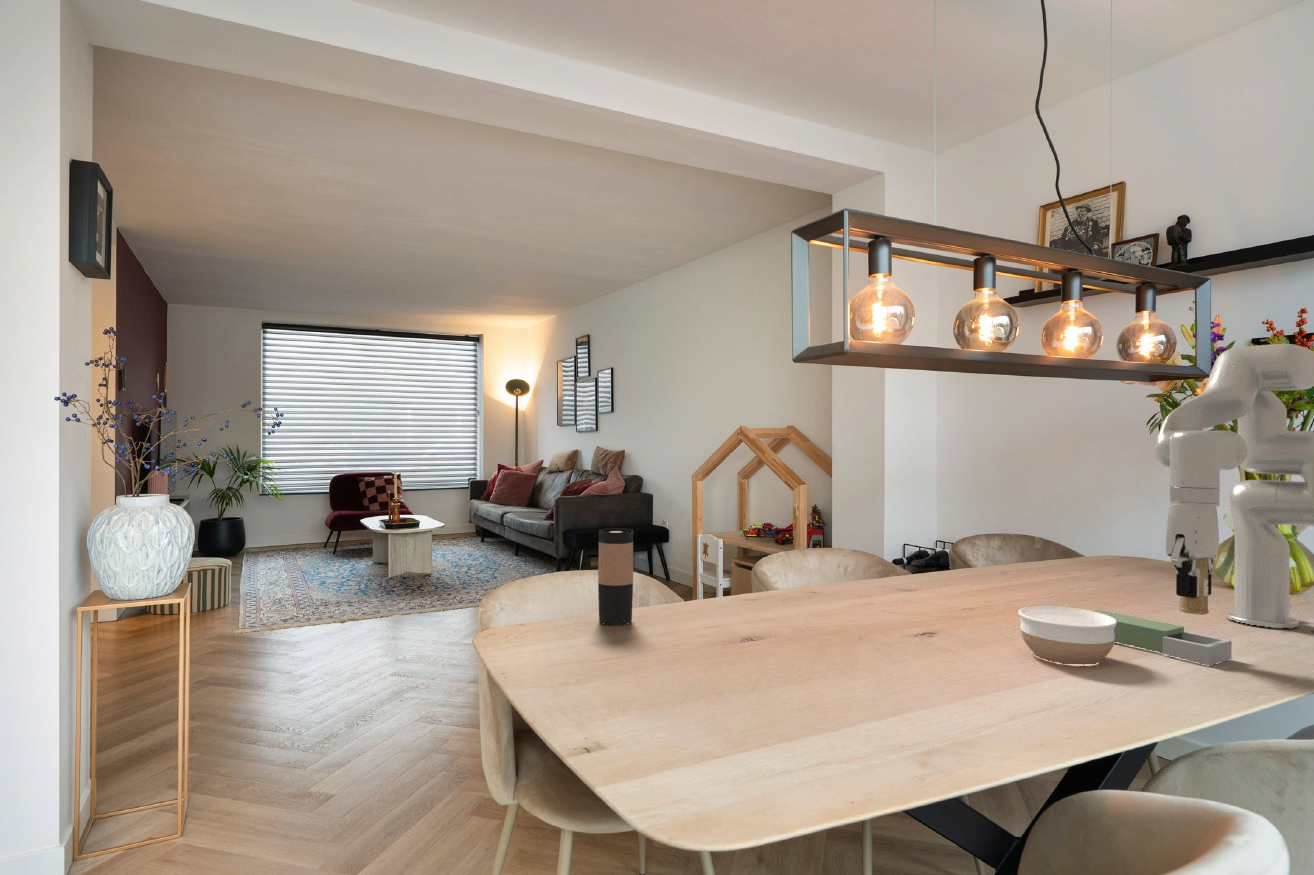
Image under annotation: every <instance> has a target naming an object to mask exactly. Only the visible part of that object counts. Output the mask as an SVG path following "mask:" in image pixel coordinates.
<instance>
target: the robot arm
mask: <svg viewBox="0 0 1314 875" xmlns="http://www.w3.org/2000/svg"><path fill="white" fill-rule="evenodd" d="M1313 387H1314V351H1313V350H1311V349H1310V348H1307V347H1304V346H1301V345H1297V344H1294V343H1291V344H1290V343H1271V344H1261V345H1248V346H1239V347H1238V346H1237V347H1233V348H1230V349H1229V348H1228V349H1226V350H1224V351H1223V352H1221V353H1220V354H1219V355H1218V356H1217V358H1216V359H1215V361H1214V364H1213V366H1212V369H1211V371H1210V373H1209V377H1208V379H1207V382H1206V383H1205V386H1204V389H1203V391H1202V393H1200V394H1198V395H1196V396H1194V397H1192V398H1190V399H1189V400H1187V401H1186V402H1184V403H1182V404H1181V405H1179V406H1178V407H1176V408H1174V409H1173V410H1172V411H1170V413H1168V415H1167V416H1166V417H1165V419H1164V420H1163V422H1162V425H1161V427H1160V429H1159V432H1158V434H1157V437H1156V439H1155V445H1154V455H1155V458H1156V460H1157V462H1158V463H1159V464H1160V465H1162V467H1166V468H1169V504H1170V505H1169V507H1168V508H1169V509H1168V512H1167V513H1168V515H1167V520H1166V532H1165V554H1166V555H1167V557H1169V558H1170V561H1171V562H1172V564H1173V566H1174V568H1175V570H1174V572H1175V575H1176V577H1175V579H1176V582H1175V583H1176V584H1175V586H1176V588H1175V592H1176V595H1177V596H1178V597H1180V596H1183V597H1189V598H1196V597H1197V576H1194V575H1195V568H1196V560H1197V559H1201V558H1205V557H1208V596H1212V573H1213V564H1214V560H1215V558H1216V557H1217V555H1218V552H1219V549H1220V548H1219V547H1220V546H1219V544H1220V542H1219V541H1220V540H1219V539H1220V537H1219V536H1220V534H1219V532H1220V531H1219V518H1218V510H1217V507H1220V498H1221V497H1220V486H1221V485H1220V484H1221V483H1220V482H1221V481H1220V476H1221V475H1220V472H1221V471H1225V470H1234V469H1236V468H1239V467H1240V468H1241V469H1242V470H1243V471H1246V472H1248V473H1252V474H1262V475H1283V476H1284V475H1288V476H1289V475H1290V476H1300V477H1302V478H1303V480H1304V481H1297V480H1293V481H1292V480H1291V481H1290V480H1289V481H1288V480H1273V479H1249V480H1244V481H1243V480H1242V481H1240V482H1239V481H1238V482H1236V483H1235V484H1234V485H1233V486H1232V487H1231V488H1230V491H1229V495H1228V497H1229V500H1228V501H1229V505H1230V511H1231V516H1232V522H1233V532H1234V534H1233V536H1234V538H1233V539H1234V556H1233V557H1234V577H1233V578H1234V584H1233V585H1234V587H1233V588H1234V590H1233V592H1234V600H1233V601H1234V603H1233V604H1234V610H1230V611H1226V612H1225V618H1226V617H1227V618H1228V619H1227V618H1226V619H1227V620H1229V619H1230V620H1229V621H1231V620H1234V621H1236V622H1235V623H1238V622H1241V623H1240V624H1242V623H1246V624H1245V625H1247V624H1250V625H1249V626H1252V625H1257V626H1256V627H1259V626H1265V627H1264V628H1267V627H1271V628H1270V629H1282V628H1289V629H1296V628H1295V627H1297V626H1298V627H1300V626H1299V625H1300V621H1299V620H1298V619H1295V618H1293V617H1290V611H1291V610H1292V608H1293V605H1292V603H1290V552H1291V549H1290V548H1291V547H1290V544H1289V542H1288V540H1287V538H1286V537H1285V536H1284V534H1283V533H1282V532H1281V531H1280V530H1279V529H1278V528H1277V527H1276V526H1275V525H1286V526H1298V527H1299V526H1301V527H1314V431H1313V430H1288V426H1287V424H1288V422H1287V421H1288V420H1287V419H1288V417H1287V414H1288V410H1287V408H1286V405H1285V404H1284V403H1283V401H1282V400H1281V399H1280V398H1279V397H1278V396H1277V395H1276V394H1274V393H1273V392H1278V391H1279V392H1280V391H1281V392H1282V391H1283V392H1284V391H1304V390H1305V391H1306V390H1310V389H1311V388H1313ZM1235 420H1237V432H1235V431H1231V430H1203V429H1208V428H1211V427H1215V426H1219V425H1222V424H1226V423H1230V422H1232V421H1235ZM1207 550H1209V551H1207ZM1183 554H1185V555H1188V556H1189V557H1190V558H1184V557H1182V556H1183ZM1184 561H1186V562H1184ZM1187 562H1190V564H1189V566H1188V564H1187ZM1234 621H1233V622H1234ZM1298 627H1297V628H1298Z"/></svg>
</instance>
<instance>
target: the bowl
mask: <svg viewBox="0 0 1314 875" xmlns="http://www.w3.org/2000/svg"><path fill="white" fill-rule="evenodd" d="M1093 611H1094V610H1088V609H1082V608H1075V607H1066V606H1057V605H1056V606H1055V605H1054V606H1053V605H1052V606H1051V605H1041V606H1040V605H1039V606H1038V605H1037V606H1036V605H1035V606H1025V607H1022V608H1020V609H1019V610H1018V612H1017V613H1018V615H1019V616H1018V617H1019V618H1020V633H1021V634H1020V635H1021V638H1022V640H1023V641H1024V643H1025V645H1026V646H1027V647H1028V648H1029V649H1030V650H1031V651H1032V652H1033V655H1034V654H1035V655H1036V656H1038V657H1040V658H1042V659H1046V660H1048V661H1052V662H1059V663H1062V664H1083V665H1084V664H1096V663H1098V662H1100V663H1101V661H1102V660H1103V659H1104V658H1106V656H1109V653H1110V652H1111V651H1112V649H1113V648H1114V645H1115V644H1114V639H1115V636H1114V629H1115V626H1116V624H1117V621H1116V620H1115V619H1114V618H1112V617H1110V616H1108V615H1105V614H1101V613H1098V612H1093Z"/></svg>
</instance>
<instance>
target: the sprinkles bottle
mask: <svg viewBox="0 0 1314 875" xmlns="http://www.w3.org/2000/svg"><path fill="white" fill-rule="evenodd" d="M1207 551H1209V550H1207ZM1182 557H1184V558H1190V557H1189V556H1188V555H1185V554H1183V556H1182ZM1184 562H1186V561H1184ZM1187 564H1188V566H1189V564H1190V562H1187ZM1208 574H1209V573H1208V557H1205V558H1201V559H1197V560H1196V568H1195V575H1194V576H1197V597H1196V598H1189V597H1183V596H1179V607H1178V610H1179V611H1181V612H1182V613H1186V614H1192V615H1203V616H1204V615H1207V614H1209V612H1210V611H1209V599H1208V598H1209V595H1208Z"/></svg>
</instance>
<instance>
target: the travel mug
mask: <svg viewBox="0 0 1314 875" xmlns="http://www.w3.org/2000/svg"><path fill="white" fill-rule="evenodd" d="M597 560H598V565H597V566H598V569H597V571H598V572H597V574H598V576H597V577H598V578H597V582H598V584H597V586H598V588H597V589H598V590H597V591H598V592H597V593H598V622H599V624H601V623H604V624H608V625H607V626H610V625H620V626H624V625H623V624H627V623H630V622H631V623H632V619H633V618H632V617H633V595H634V593H633V592H634V531H633V529H629V528H602V529H600V530H598V559H597ZM631 623H630V624H631ZM604 624H603V625H604ZM627 625H628V624H627Z"/></svg>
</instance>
